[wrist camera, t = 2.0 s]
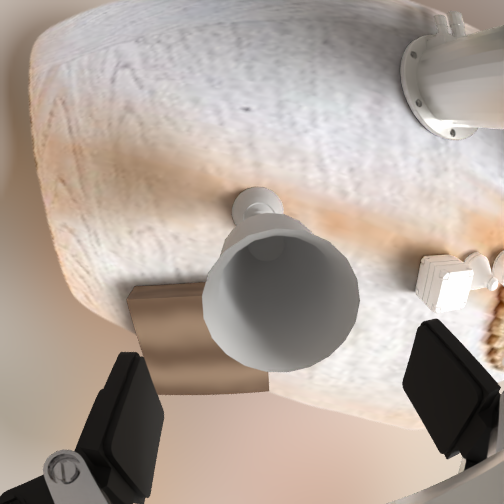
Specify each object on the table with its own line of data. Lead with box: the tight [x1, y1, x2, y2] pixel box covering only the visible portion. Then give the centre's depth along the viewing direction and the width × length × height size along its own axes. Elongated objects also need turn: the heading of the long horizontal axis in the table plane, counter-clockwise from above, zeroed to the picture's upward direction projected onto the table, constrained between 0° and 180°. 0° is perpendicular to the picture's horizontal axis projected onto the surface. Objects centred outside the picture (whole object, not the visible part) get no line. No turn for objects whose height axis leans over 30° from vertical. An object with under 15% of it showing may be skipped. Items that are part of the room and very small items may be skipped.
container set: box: [415, 250, 504, 313], centre depth 31 cm, size 20×5×6 cm, turn 91°
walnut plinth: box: [126, 282, 269, 395], centre depth 33 cm, size 14×14×3 cm
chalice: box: [202, 187, 360, 372], centre depth 21 cm, size 7×7×18 cm
